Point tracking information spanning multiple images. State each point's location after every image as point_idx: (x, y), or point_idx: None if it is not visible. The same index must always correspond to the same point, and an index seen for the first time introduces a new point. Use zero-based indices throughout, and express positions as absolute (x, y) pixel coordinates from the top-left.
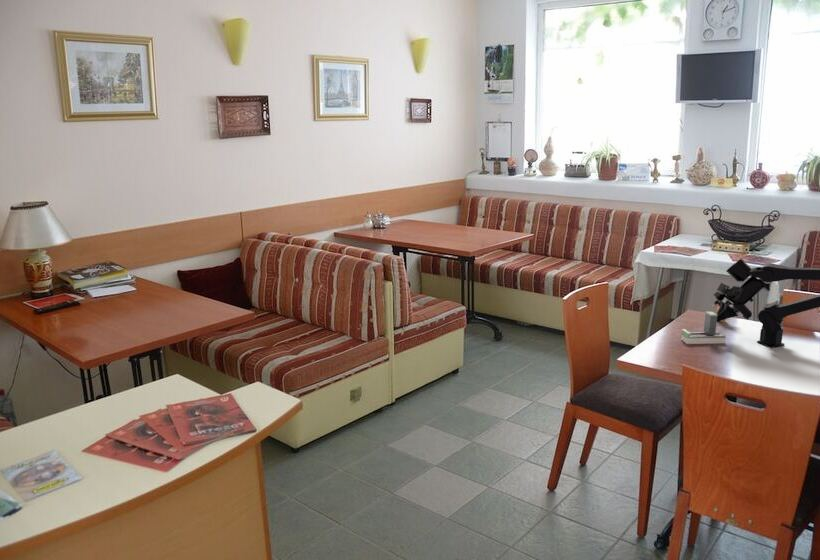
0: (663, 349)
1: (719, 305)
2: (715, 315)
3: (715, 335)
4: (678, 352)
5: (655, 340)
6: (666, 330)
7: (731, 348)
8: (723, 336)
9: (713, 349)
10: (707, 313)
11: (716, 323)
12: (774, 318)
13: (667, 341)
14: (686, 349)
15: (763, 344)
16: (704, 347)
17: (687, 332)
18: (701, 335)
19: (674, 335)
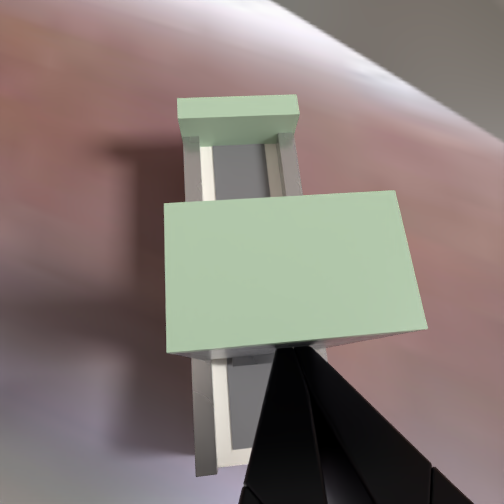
0: (94, 3)
1: None
2: (170, 309)
3: (207, 364)
4: (29, 55)
5: (259, 15)
6: (475, 130)
7: (57, 460)
8: (196, 450)
9: (53, 290)
10: (307, 200)
11: (189, 357)
12: None
13: (242, 65)
14: (78, 115)
15: None
16: (106, 242)
17: (202, 103)
18: None
19: (371, 142)
